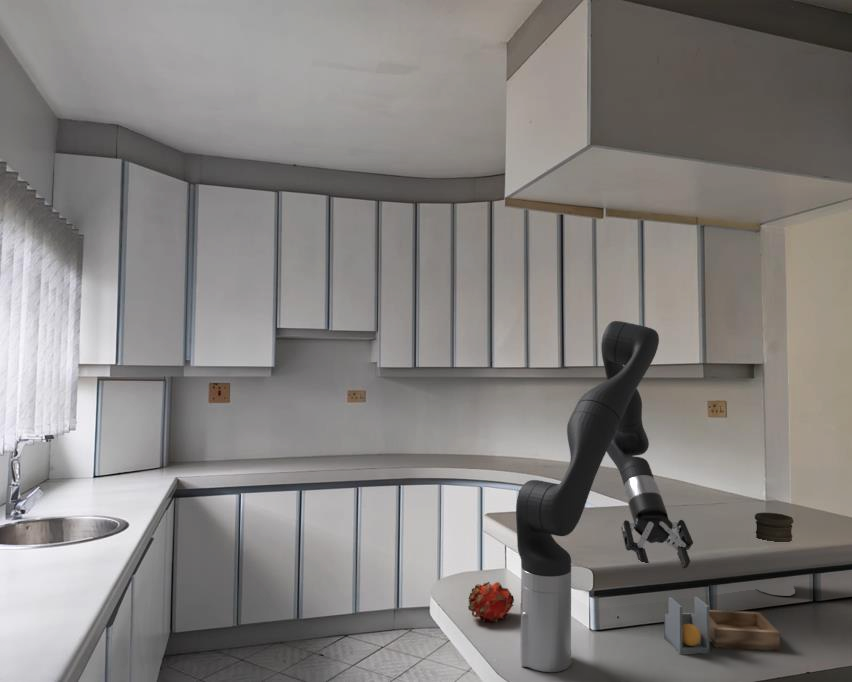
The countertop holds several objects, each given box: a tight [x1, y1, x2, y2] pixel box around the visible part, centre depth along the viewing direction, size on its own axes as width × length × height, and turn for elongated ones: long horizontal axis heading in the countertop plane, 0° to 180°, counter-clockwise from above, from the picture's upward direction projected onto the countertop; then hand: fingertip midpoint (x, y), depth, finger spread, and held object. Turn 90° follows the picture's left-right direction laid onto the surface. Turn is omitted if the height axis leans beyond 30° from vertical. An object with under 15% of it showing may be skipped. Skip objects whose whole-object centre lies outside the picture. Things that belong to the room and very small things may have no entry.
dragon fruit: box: [467, 581, 515, 623], centre depth 141 cm, size 8×8×12 cm
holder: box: [663, 596, 710, 655], centre depth 128 cm, size 7×6×9 cm
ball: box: [682, 624, 701, 646], centre depth 126 cm, size 4×4×4 cm
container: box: [754, 512, 794, 542], centre depth 158 cm, size 9×9×18 cm
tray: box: [709, 609, 781, 652], centre depth 132 cm, size 12×10×4 cm
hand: (666, 566), depth 137 cm, fingers open, 8 cm apart
